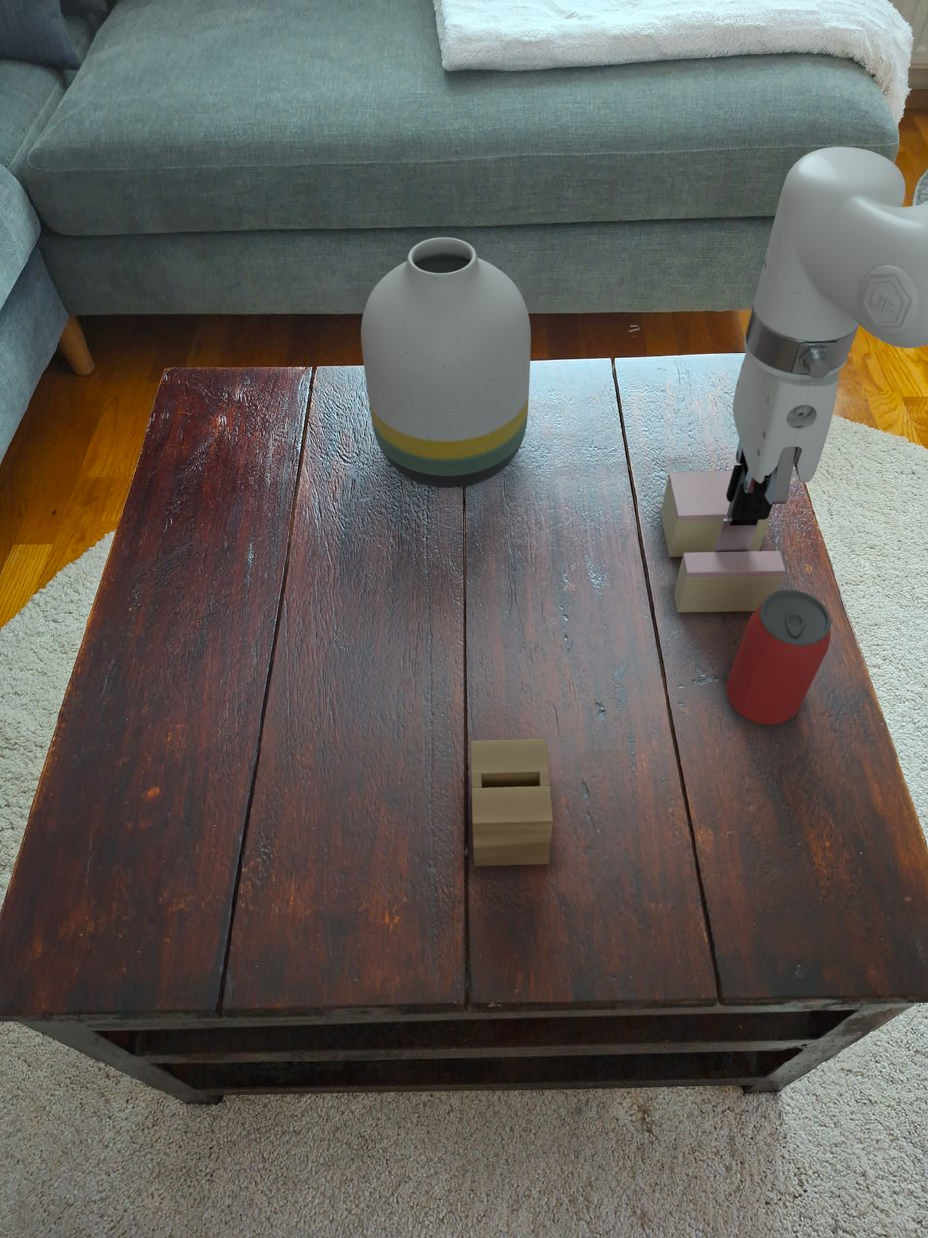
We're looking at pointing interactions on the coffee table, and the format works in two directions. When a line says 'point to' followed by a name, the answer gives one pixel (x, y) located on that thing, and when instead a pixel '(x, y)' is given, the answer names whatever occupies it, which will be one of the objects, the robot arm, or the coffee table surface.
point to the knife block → (511, 802)
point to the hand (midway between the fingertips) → (746, 507)
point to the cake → (698, 512)
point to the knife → (736, 525)
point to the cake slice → (727, 580)
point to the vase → (447, 365)
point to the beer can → (779, 656)
